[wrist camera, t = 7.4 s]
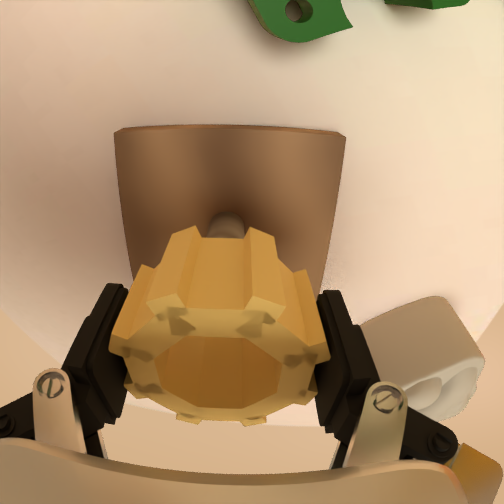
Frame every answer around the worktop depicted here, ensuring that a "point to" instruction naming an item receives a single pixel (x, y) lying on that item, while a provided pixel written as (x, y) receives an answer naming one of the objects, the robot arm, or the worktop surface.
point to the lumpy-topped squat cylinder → (426, 356)
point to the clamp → (320, 16)
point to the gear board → (230, 188)
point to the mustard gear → (221, 330)
